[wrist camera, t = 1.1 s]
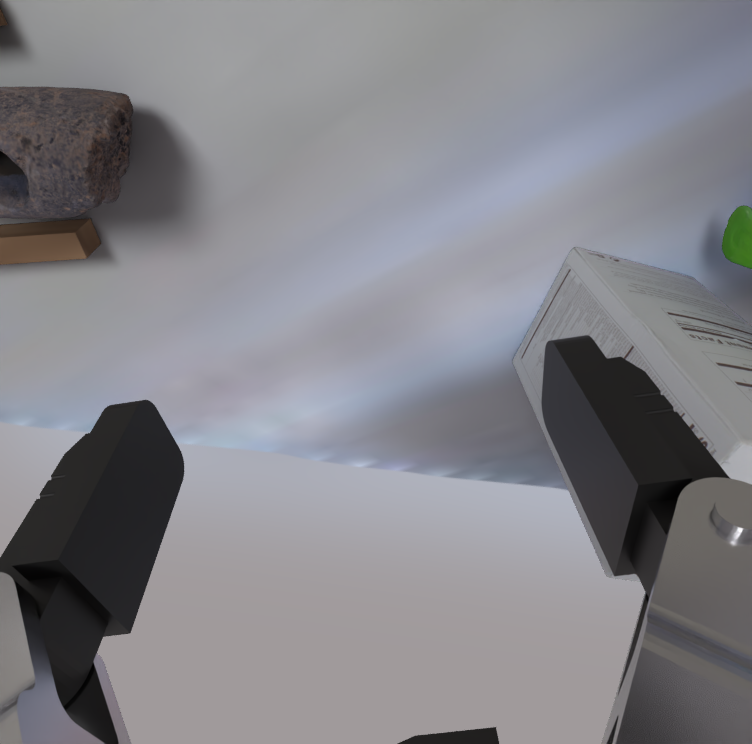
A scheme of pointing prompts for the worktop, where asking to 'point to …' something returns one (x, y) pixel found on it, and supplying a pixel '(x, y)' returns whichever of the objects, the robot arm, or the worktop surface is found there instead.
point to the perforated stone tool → (61, 150)
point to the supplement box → (652, 351)
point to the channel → (46, 237)
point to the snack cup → (739, 237)
